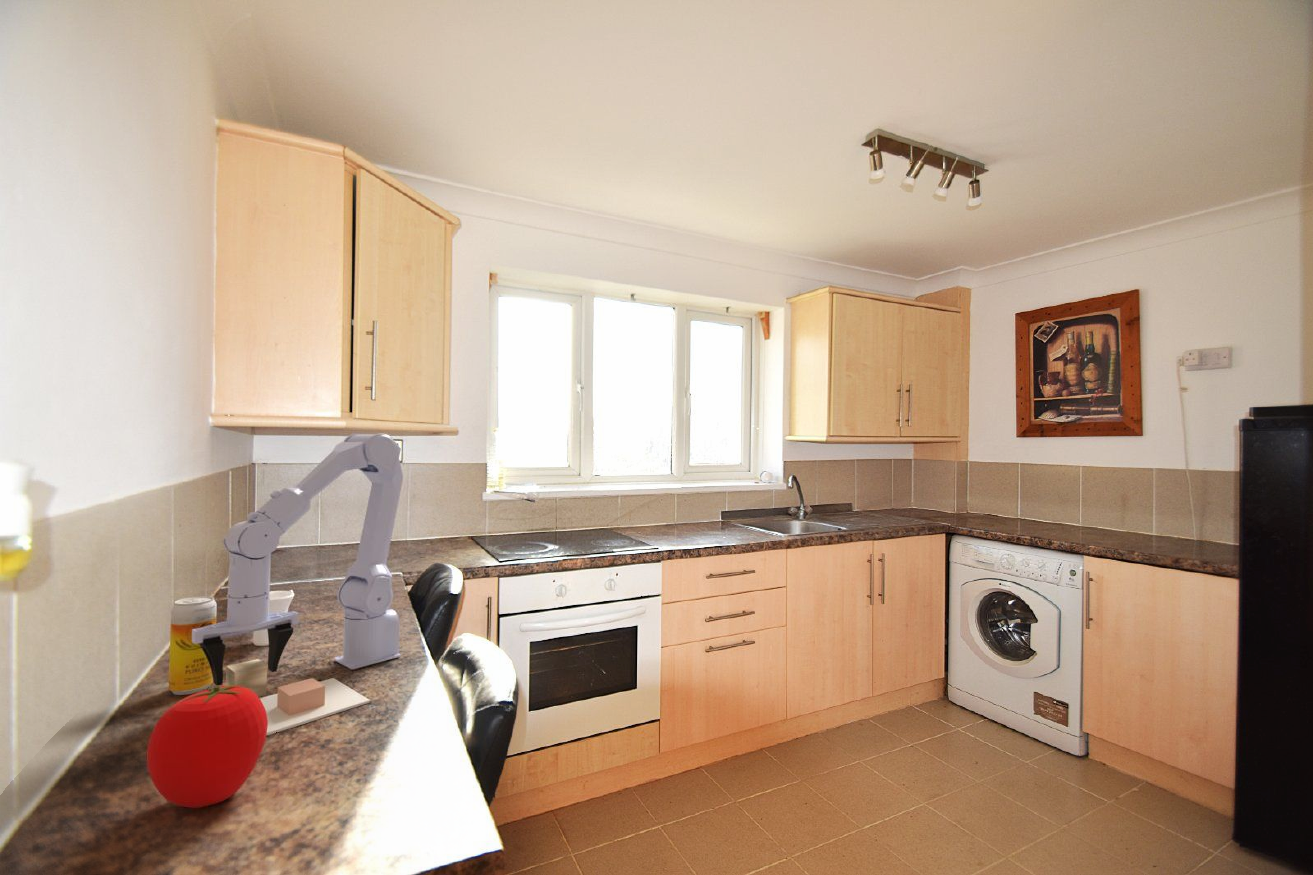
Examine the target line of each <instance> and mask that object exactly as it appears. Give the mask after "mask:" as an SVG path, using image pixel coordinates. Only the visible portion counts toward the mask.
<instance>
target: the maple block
mask: <svg viewBox="0 0 1313 875" xmlns="http://www.w3.org/2000/svg"><path fill="white" fill-rule="evenodd" d="M225 669H226V670H225V686H230V685H237V686H240V687H244V688H248V689H250V690H252V691H253V692H254V693H255V694H256V695H257V696H258V697H259V698H262V697H266V696H267V691H268V690H267V686H268V682H267V681H268V664H266V663H264V662H263V661H262V660H261V659H259V658H255V659H251V660H247V661H243V662H239V663H238V662H237V663H234V664H230V665H226V668H225ZM243 683H244V684H243ZM238 684H241V685H238ZM261 696H262V697H261Z"/></svg>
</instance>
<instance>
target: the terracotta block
mask: <svg viewBox="0 0 1313 875" xmlns="http://www.w3.org/2000/svg"><path fill="white" fill-rule="evenodd" d="M320 682H321V681H318V680H316V679H315V678H313V677H311V678H307V679H303V680H299V681H296V682H292V683H289V684H284V685H281V686H277V693H278V698H277V707H279V708H280V709H281V710H282V711H284V712H285V713H286V714H287V715H289V716H291V715H294V714H297V713H300V712H304V711H307V710H310V709H313V708H317V707H320V706H323V705H325V686H324V685H323V684H321V683H320Z"/></svg>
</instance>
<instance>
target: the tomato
mask: <svg viewBox="0 0 1313 875" xmlns="http://www.w3.org/2000/svg"><path fill="white" fill-rule="evenodd" d="M243 684H244V683H243ZM238 685H241V684H238ZM208 687H209V686H208ZM260 698H261V697H258V696H257V695H256V694H255V693H254V692H253V691H252V690H250V689H248V688H244V687H240V686H237V685H230V686H226V685H223V686H222V685H221V686H220V685H218V686H217V685H215V686H210V687H209V689H208V688H207V689H205V690H203V691H200V692H196V693H192V694H189V695H188V696H186V697H184V698H182V699H181V700H179V701H178V702H176V703H175V704H173V705H172V706H171V707H170V708H168V709H167V710H166V711H165V712H164V713H163V714H162V715H161V716H160V717H159V719H158V720H157V722H156V723H155V725H154V728H153V730H152V732H151V734H150V737H149V741H148V746H147V749H146V752H147V754H146V766H147V769H148V774H149V776H150V779H151V781H152V783H153V785H154V787H155V788H156V790H157V791H158V793H159V794H160V795H161V796H162V798H164V799H165V800H166V801H168V802H170V803H173V804H175V805H177V806H179V807H187V808H195V809H197V808H198V809H199V808H205V807H209V806H211V805H215V804H219V803H221V802H223V801H225V800H227V799H229V798H230V797H232V796H233V795H234V794H235V793H236V792H237V791H238V790H239V789H240V788H241V787H242V786H243V785H244V784H245V783H246V781H247V780H248V778H249V777H250V775H251V773H252V771H253V770H254V768H255V766H256V765H257V763H258V761H259V758H260V756H261V754H262V751H263V748H264V746H265V742H266V739H267V736H266V734H267V727H268V720H267V714H266V710H265V708H264V706H263V704H262V702H261V700H260Z"/></svg>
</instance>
